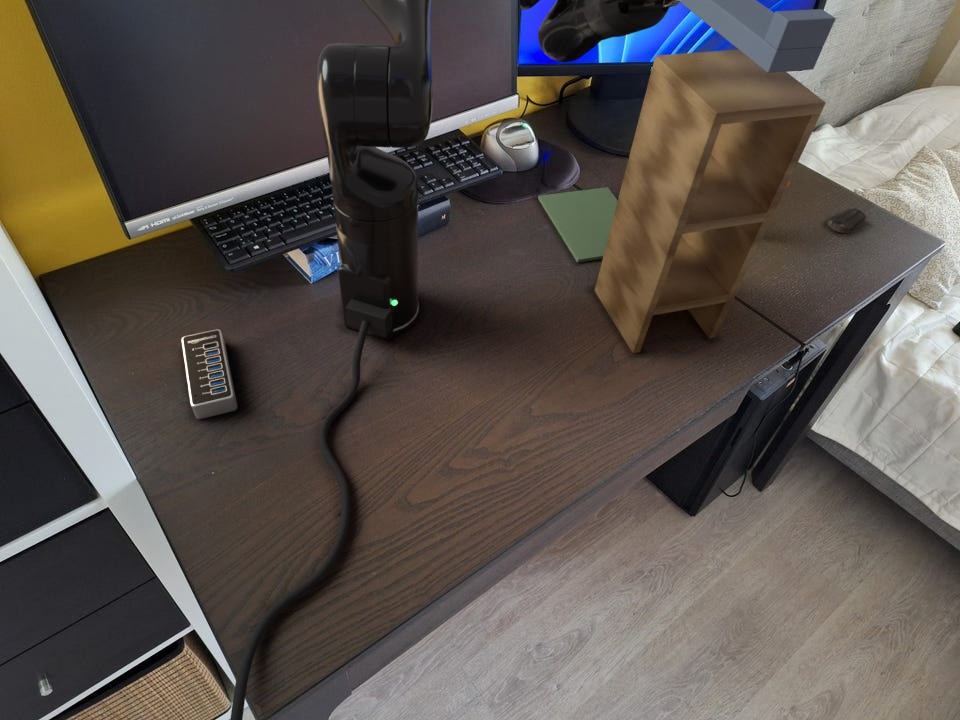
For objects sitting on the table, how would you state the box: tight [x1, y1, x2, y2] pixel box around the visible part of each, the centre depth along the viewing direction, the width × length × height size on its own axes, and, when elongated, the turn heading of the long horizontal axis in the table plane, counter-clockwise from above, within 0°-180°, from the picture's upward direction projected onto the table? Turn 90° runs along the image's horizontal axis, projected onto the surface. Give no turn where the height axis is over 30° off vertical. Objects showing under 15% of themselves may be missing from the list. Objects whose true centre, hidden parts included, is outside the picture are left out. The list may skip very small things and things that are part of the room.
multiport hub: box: [181, 329, 238, 420], centre depth 76 cm, size 4×11×2 cm, turn 22°
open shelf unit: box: [594, 48, 827, 354], centre depth 77 cm, size 12×12×32 cm
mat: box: [537, 186, 618, 264], centre depth 101 cm, size 16×12×1 cm
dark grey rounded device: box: [827, 208, 867, 234], centre depth 105 cm, size 4×6×2 cm, turn 130°
